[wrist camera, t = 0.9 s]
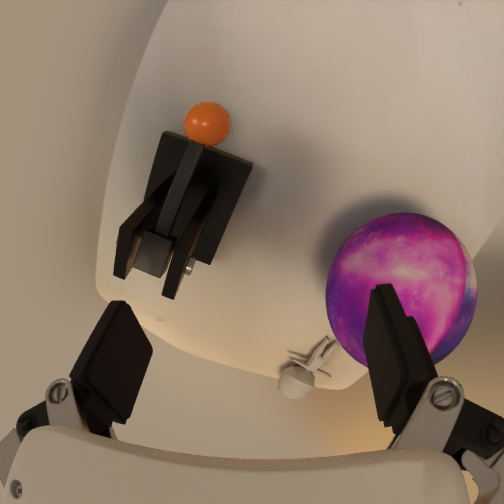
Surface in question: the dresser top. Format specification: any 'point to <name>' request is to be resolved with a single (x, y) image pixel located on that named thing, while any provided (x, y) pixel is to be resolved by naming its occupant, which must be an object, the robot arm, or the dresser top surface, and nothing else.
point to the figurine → (304, 373)
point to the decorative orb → (403, 281)
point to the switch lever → (181, 185)
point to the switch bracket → (185, 208)
